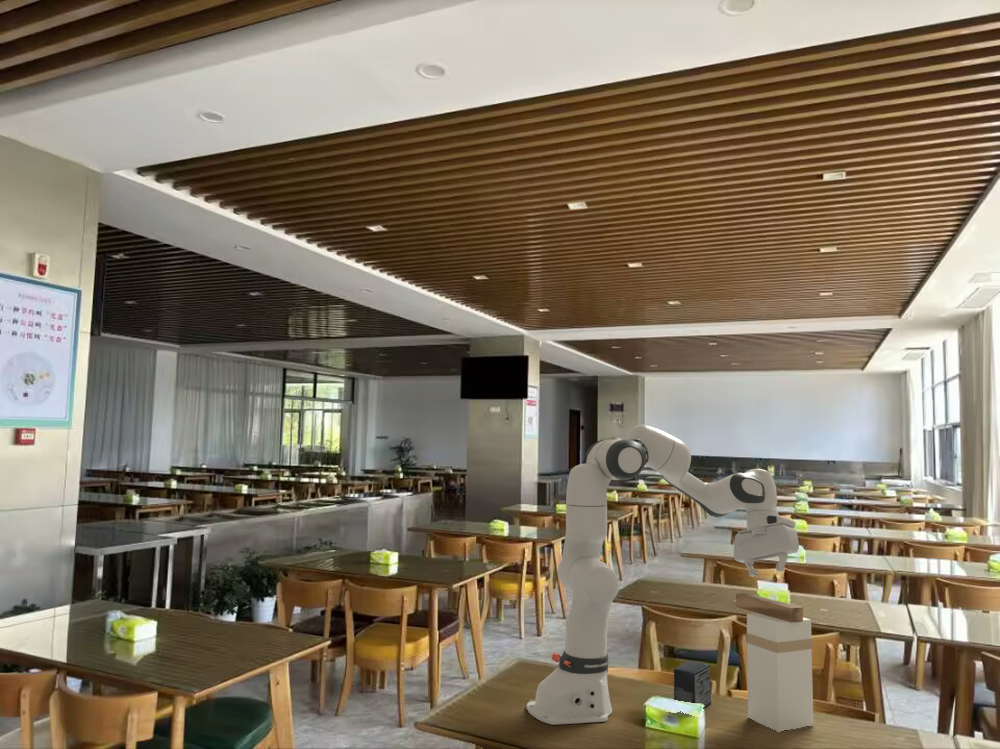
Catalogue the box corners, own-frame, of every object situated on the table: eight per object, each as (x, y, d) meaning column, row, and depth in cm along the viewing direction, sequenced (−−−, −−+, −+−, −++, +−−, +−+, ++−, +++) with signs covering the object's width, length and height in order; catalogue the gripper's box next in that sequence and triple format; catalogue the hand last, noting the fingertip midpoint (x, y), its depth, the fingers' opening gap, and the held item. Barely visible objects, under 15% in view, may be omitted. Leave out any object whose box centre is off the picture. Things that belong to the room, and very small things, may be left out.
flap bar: (791, 622, 172) (791, 608, 173) (736, 606, 190) (736, 593, 190) (803, 621, 174) (802, 607, 175) (747, 605, 191) (746, 592, 192)
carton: (778, 732, 168) (776, 623, 171) (747, 717, 178) (746, 614, 181) (814, 726, 173) (811, 619, 177) (782, 711, 183) (780, 611, 186)
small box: (689, 698, 191) (689, 659, 192) (711, 704, 187) (711, 664, 188) (672, 708, 183) (672, 667, 184) (695, 714, 179) (695, 672, 180)
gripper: (727, 529, 204) (729, 576, 197) (784, 515, 188) (788, 565, 181) (742, 534, 207) (745, 581, 200) (800, 520, 191) (805, 570, 184)
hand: (766, 573), depth 191 cm, fingers open, 8 cm apart
